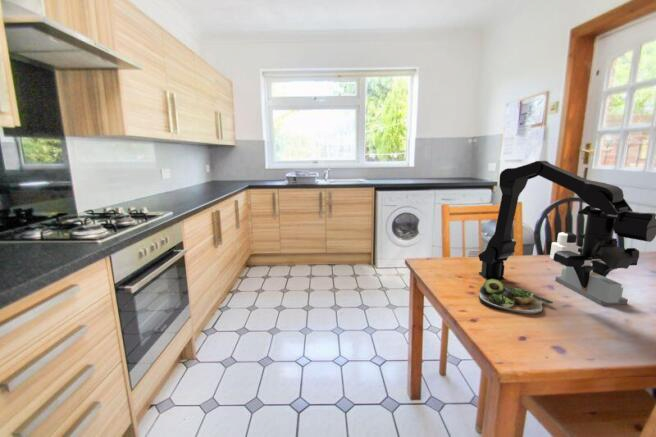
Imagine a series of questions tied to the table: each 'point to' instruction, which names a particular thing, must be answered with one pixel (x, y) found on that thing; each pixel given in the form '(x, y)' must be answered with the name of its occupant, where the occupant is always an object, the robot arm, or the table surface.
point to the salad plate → (510, 297)
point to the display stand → (589, 296)
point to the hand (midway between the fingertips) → (589, 287)
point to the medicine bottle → (564, 244)
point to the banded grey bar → (596, 285)
